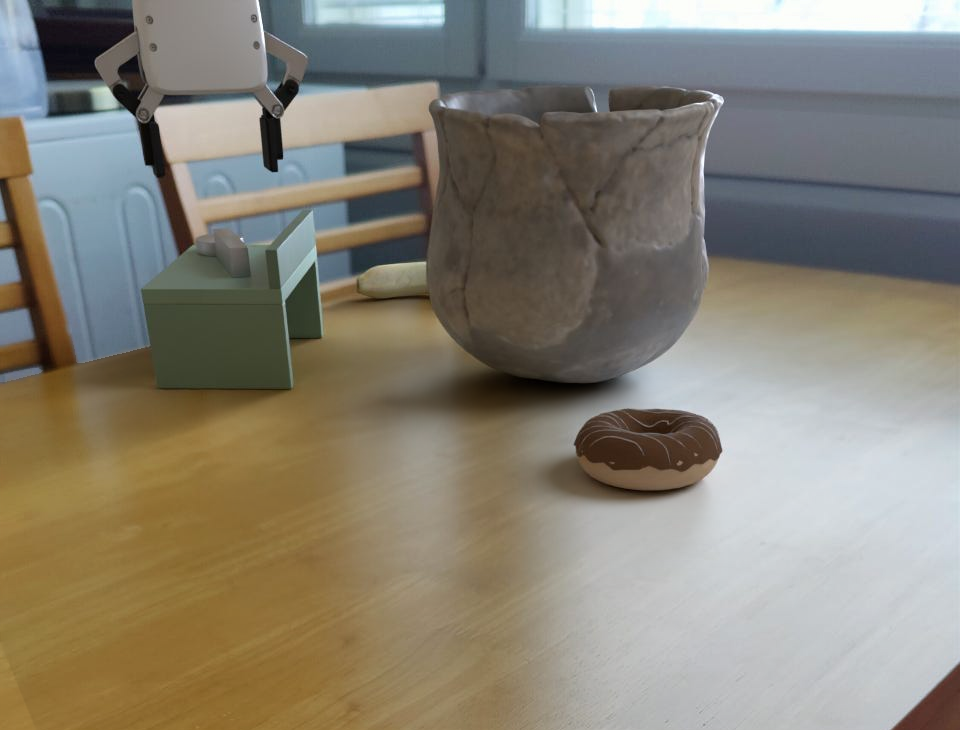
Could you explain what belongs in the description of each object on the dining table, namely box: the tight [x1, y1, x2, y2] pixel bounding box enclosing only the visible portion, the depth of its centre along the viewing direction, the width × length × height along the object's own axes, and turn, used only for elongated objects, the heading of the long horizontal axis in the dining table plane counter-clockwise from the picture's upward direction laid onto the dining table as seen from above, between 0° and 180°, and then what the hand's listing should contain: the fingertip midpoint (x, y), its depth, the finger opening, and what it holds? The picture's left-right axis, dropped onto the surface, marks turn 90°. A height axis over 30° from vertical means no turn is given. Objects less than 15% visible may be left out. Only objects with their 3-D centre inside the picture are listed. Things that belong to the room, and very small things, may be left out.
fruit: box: [355, 261, 430, 299], centre depth 131 cm, size 7×15×3 cm, turn 77°
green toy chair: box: [140, 209, 325, 390], centre depth 110 cm, size 12×18×11 cm, turn 177°
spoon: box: [194, 227, 251, 278], centre depth 109 cm, size 14×4×2 cm, turn 19°
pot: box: [425, 85, 725, 384], centre depth 103 cm, size 25×24×21 cm
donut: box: [572, 407, 723, 491], centre depth 88 cm, size 11×11×4 cm
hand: (215, 172), depth 104 cm, fingers open, 9 cm apart
